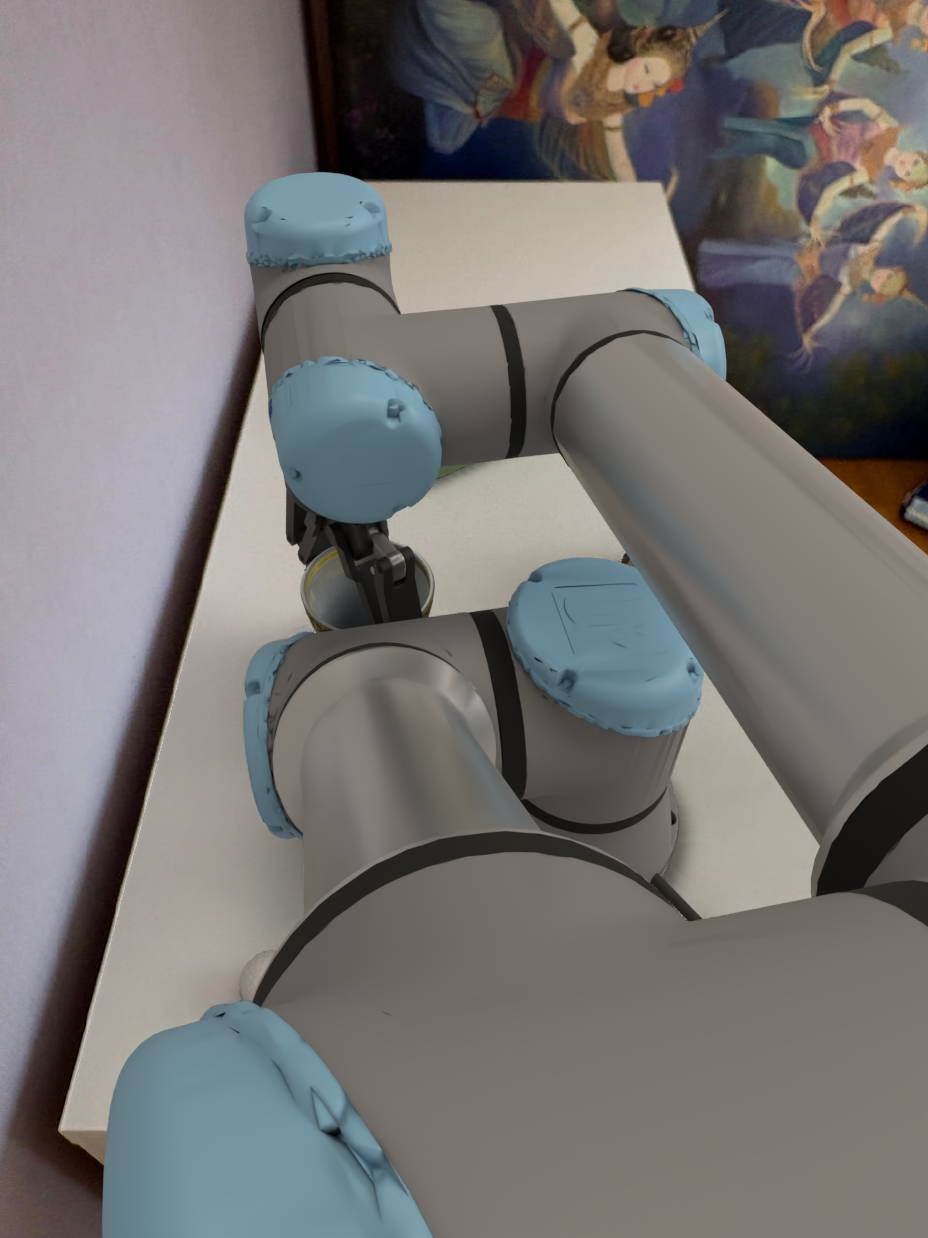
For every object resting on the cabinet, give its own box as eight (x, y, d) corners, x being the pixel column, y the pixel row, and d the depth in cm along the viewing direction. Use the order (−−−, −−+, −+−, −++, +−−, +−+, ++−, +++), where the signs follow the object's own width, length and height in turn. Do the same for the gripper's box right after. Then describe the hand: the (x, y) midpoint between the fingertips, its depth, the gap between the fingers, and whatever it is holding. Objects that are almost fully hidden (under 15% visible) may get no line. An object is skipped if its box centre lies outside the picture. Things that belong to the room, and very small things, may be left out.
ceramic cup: (343, 606, 83) (334, 523, 76) (451, 639, 81) (453, 556, 74) (274, 723, 75) (256, 642, 68) (392, 762, 73) (388, 683, 66)
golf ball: (233, 1013, 62) (222, 991, 59) (261, 956, 64) (252, 931, 61) (289, 1035, 61) (281, 1013, 58) (316, 975, 63) (309, 952, 60)
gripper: (490, 512, 56) (479, 733, 73) (305, 336, 68) (333, 560, 85) (380, 563, 53) (395, 781, 70) (207, 370, 65) (256, 595, 82)
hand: (361, 660), depth 77 cm, fingers closed on ceramic cup, 10 cm apart
